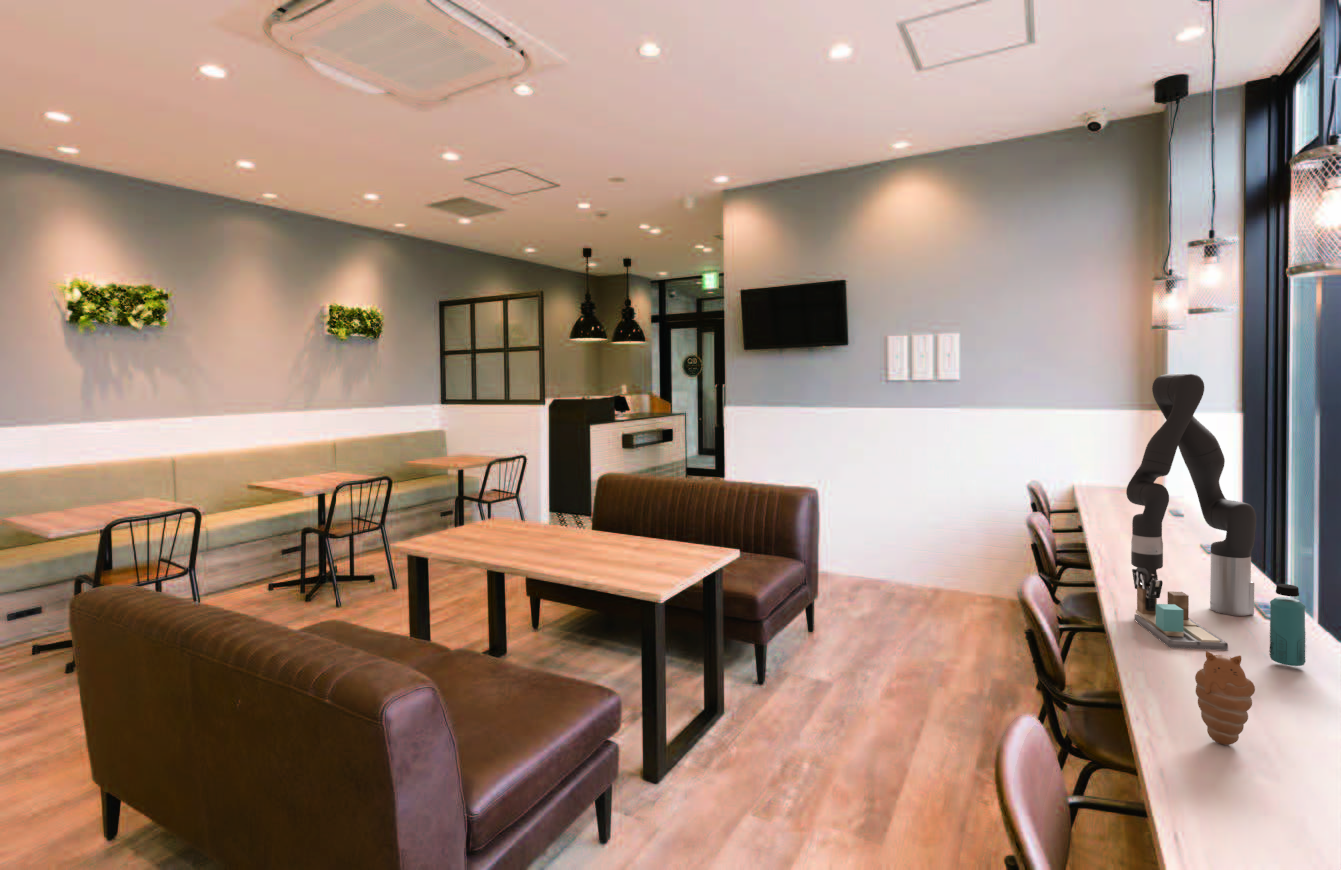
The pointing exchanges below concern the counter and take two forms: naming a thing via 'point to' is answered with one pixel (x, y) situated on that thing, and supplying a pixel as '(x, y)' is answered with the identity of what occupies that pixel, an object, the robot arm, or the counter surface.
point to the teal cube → (1169, 617)
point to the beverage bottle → (1287, 627)
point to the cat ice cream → (1223, 697)
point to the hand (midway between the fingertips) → (1146, 608)
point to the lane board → (1187, 637)
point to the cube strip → (1153, 622)
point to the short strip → (1181, 605)
